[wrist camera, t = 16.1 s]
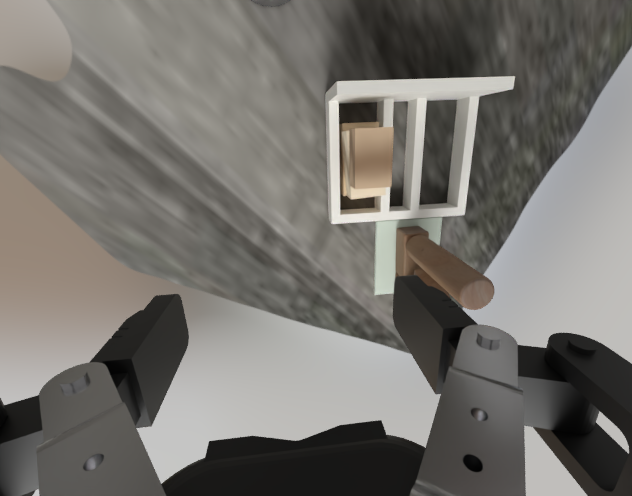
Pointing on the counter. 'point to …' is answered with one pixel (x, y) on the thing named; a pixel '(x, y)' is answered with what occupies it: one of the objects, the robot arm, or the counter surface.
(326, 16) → the counter surface
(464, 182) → the offcut rack
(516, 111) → the counter surface
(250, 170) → the counter surface
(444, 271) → the wooden block
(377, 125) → the offcut stack
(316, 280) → the counter surface
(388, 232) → the sage mat
